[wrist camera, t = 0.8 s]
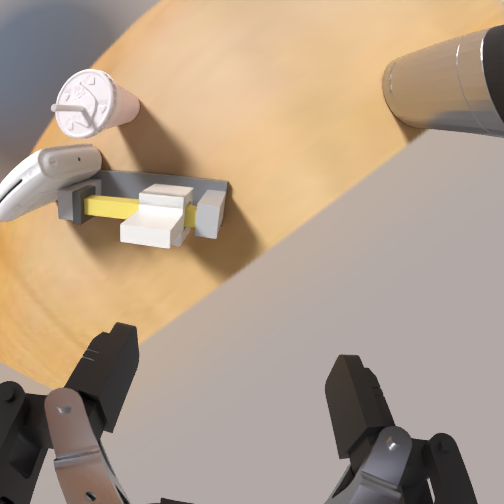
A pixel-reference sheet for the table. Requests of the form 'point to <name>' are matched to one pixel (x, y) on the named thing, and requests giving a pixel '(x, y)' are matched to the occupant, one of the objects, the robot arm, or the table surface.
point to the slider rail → (127, 198)
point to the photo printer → (46, 177)
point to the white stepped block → (158, 217)
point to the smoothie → (93, 104)
